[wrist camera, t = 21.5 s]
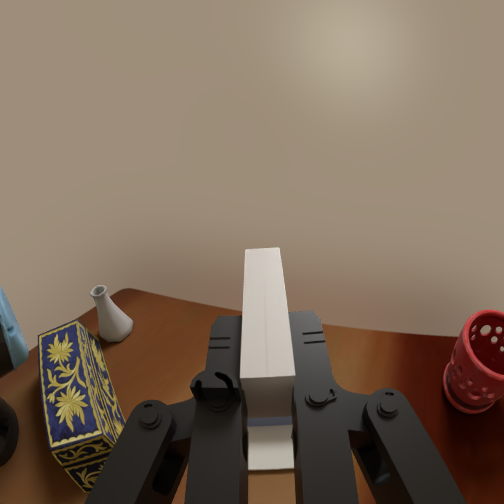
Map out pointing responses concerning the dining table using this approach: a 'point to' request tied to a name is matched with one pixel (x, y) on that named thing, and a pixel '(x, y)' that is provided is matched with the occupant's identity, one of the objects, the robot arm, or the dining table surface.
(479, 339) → the plant pot
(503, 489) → the dining table surface
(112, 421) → the decorative box
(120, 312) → the flask
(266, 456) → the mat
